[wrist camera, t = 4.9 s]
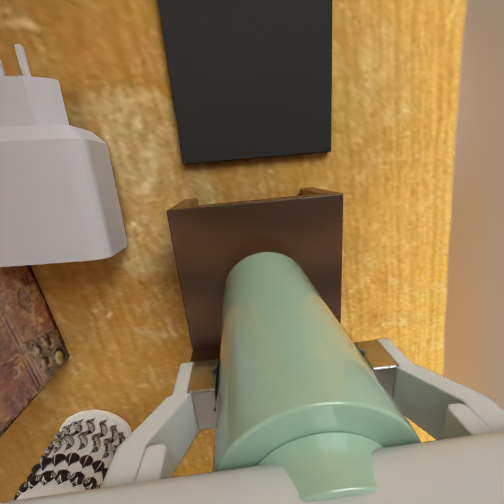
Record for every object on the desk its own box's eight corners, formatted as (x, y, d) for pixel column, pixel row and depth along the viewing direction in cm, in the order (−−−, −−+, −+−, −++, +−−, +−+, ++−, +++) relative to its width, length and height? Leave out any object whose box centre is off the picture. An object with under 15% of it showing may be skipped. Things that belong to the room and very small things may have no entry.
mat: (152, -41, 19) (150, -47, 18) (329, -50, 19) (332, -57, 19) (184, 164, 23) (183, 164, 22) (328, 151, 23) (331, 151, 23)
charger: (93, 57, 20) (131, 243, 25) (-32, 62, 20) (30, 250, 24) (53, 25, 16) (108, 259, 20) (-111, 29, 15) (-16, 269, 20)
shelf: (184, 199, 24) (160, 213, 16) (313, 187, 24) (352, 195, 16) (203, 313, 27) (191, 372, 19) (314, 301, 28) (347, 353, 20)
